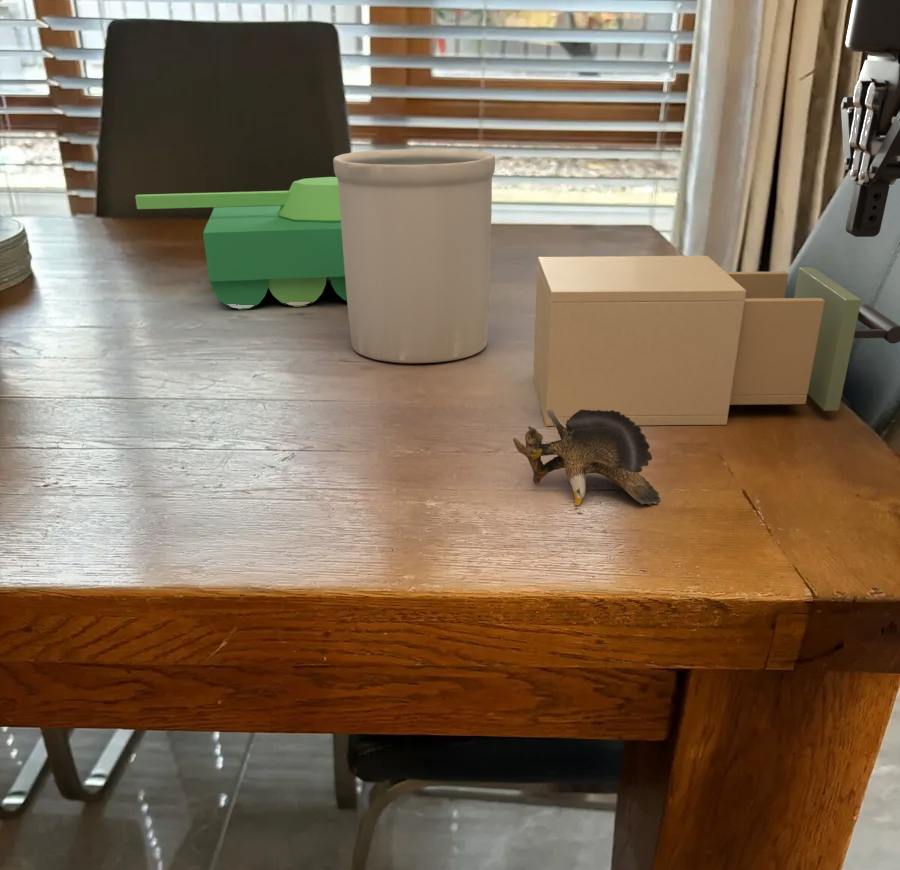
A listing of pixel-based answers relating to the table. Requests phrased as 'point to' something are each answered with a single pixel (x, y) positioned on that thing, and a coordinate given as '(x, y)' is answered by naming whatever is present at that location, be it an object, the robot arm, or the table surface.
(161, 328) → the table surface
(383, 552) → the table surface
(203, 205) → the toy tank
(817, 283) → the drawer
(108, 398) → the table surface
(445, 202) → the utensil holder
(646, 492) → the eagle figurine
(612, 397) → the cabinet
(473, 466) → the table surface
